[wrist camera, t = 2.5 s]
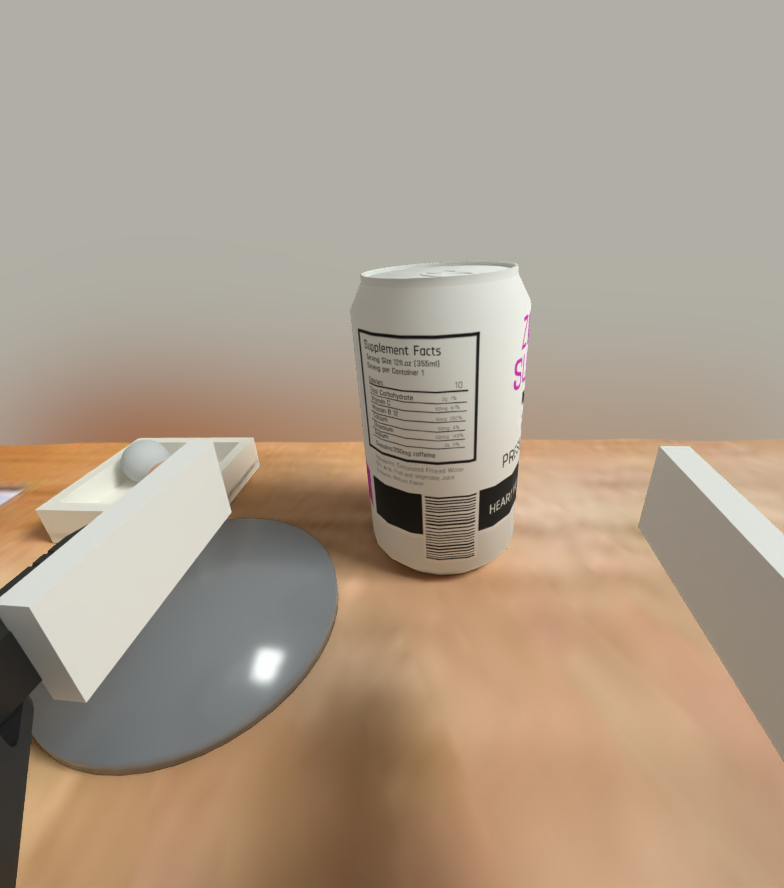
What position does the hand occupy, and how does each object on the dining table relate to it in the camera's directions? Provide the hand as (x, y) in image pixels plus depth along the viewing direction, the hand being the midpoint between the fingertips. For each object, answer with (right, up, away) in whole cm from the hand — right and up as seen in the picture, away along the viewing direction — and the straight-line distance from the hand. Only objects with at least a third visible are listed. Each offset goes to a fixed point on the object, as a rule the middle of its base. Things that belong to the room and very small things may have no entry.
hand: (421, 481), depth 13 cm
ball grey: (-19, 0, +19) cm, 27 cm away
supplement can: (+2, -4, +13) cm, 14 cm away
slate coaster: (-11, -7, +8) cm, 15 cm away
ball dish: (-17, -3, +18) cm, 25 cm away
